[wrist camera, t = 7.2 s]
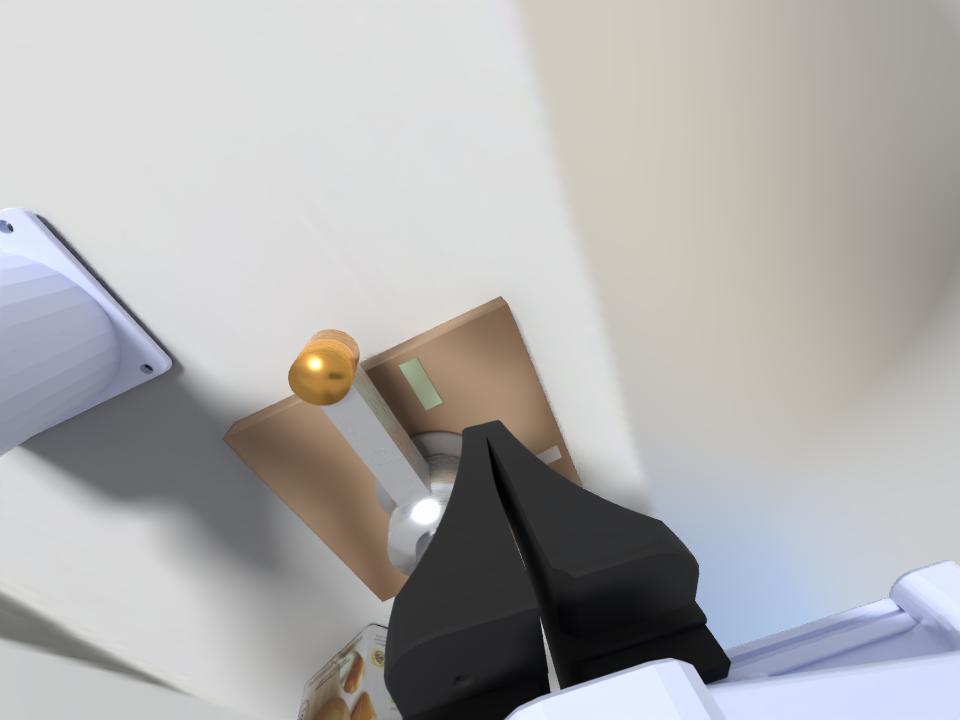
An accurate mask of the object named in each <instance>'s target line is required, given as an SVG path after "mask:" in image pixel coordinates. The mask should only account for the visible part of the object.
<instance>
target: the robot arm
mask: <svg viewBox="0 0 960 720" xmlns="http://www.w3.org/2000/svg"><path fill="white" fill-rule="evenodd" d="M6 222H9V223H10V224H11V225H12V227H13V232H12V231H11V230H9V229H8V227H7V226H6ZM145 364H147V365H149V366H151V367H152V369H153V371H152V370H149V369H147V368H146V366H145ZM171 366H172V361H171V359H170V358H169V357H168V355H167V354H166V353H165V352H164V351H163V350H162V349H161V348H160V347H159V346H158V345H157V344H156V343H155V342H154V341H153V340H152V339H151V337H150V336H149V335H148V334H147V333H146V332H145V331H144V330H143V329H142V328H141V327H140V326H139V325H138V324H137V323H136V322H135V320H134V319H133V318H132V317H131V316H130V315H129V314H128V313H127V312H126V311H125V310H124V309H123V308H122V307H121V306H120V305H119V304H118V302H117V301H116V300H115V299H114V298H113V297H112V296H111V295H110V294H109V293H108V292H107V291H106V290H105V289H104V288H103V287H102V286H101V284H100V283H99V282H98V281H97V280H96V279H95V278H94V277H93V276H92V275H91V274H90V273H89V272H88V271H87V270H86V269H85V267H84V266H83V265H82V264H81V263H80V262H79V261H78V260H77V259H76V258H75V257H74V256H73V255H72V254H71V253H70V252H69V251H68V249H67V248H66V247H65V246H64V245H63V244H62V243H61V242H60V241H59V240H58V239H57V238H56V237H55V236H54V235H53V234H52V233H51V231H50V230H49V229H48V228H47V227H46V226H45V225H44V224H43V223H42V222H41V221H40V220H39V219H38V218H37V217H36V216H35V215H34V214H33V213H32V212H31V211H29V210H26V209H24V208H18V207H15V208H6V209H4V210H2V211H0V456H2V455H4V454H5V453H7V452H8V451H10V450H11V449H13V448H15V447H16V446H18V445H19V444H21V443H22V442H24V441H26V440H27V439H29V438H30V437H32V436H34V435H36V434H38V433H40V432H42V431H44V430H46V429H48V428H50V427H52V426H55V425H57V424H59V423H61V422H63V421H65V420H67V419H69V418H71V417H73V416H75V415H77V414H80V413H82V412H84V411H86V410H88V409H90V408H92V407H94V406H96V405H98V404H100V403H102V402H104V401H107V400H109V399H111V398H113V397H115V396H117V395H119V394H121V393H123V392H125V391H127V390H129V389H132V388H134V387H136V386H138V385H140V384H142V383H144V382H146V381H148V380H150V379H152V378H154V377H156V376H159V375H161V374H163V373H165V372H166V371H167V370H169V369H170V368H171ZM507 520H508V521H507ZM508 523H509V524H508ZM509 525H510V526H509ZM510 528H511V529H510ZM511 530H512V532H511ZM512 533H513V535H514V537H513V535H512ZM514 538H515V540H516V543H517V545H518V548H519V550H520V553H521V556H522V558H521V556H520V553H519V551H518V548H517V545H516V543H515V540H514ZM522 559H523V561H524V564H525V566H524V564H523V561H522ZM525 568H526V569H525ZM698 577H699V565H698V563H697V561H696V559H695V557H694V556H693V555H692V553H691V552H690V551H689V550H688V548H687V547H686V546H685V545H684V543H683V542H682V541H681V540H680V539H679V538H678V537H677V536H676V535H675V534H674V533H673V532H672V531H671V530H670V529H669V528H668V527H667V526H666V525H665V524H664V523H663V522H662V521H660V520H657V519H654V518H651V517H649V516H646V515H643V514H640V513H637V512H634V511H631V510H629V509H626V508H624V507H621V506H619V505H617V504H614V503H612V502H609V501H607V500H605V499H603V498H601V497H599V496H597V495H595V494H593V493H591V492H589V491H587V490H585V489H583V488H582V487H580V486H578V485H577V484H575V483H573V482H571V481H570V480H568V479H567V478H565V477H564V476H562V475H561V474H559V473H558V472H556V471H555V470H553V469H552V468H551V467H549V466H548V465H547V464H545V463H544V462H543V461H542V460H540V459H539V458H538V457H537V456H535V455H534V454H533V453H532V452H531V451H530V450H529V449H527V448H526V447H525V446H524V445H523V444H522V443H521V442H520V441H519V440H518V439H517V438H516V437H515V436H514V435H513V434H512V433H511V432H510V431H509V430H508V429H507V428H506V426H505V425H504V424H503V423H502V422H501V421H500V420H495V421H491V422H487V423H483V424H479V425H475V426H471V427H467V428H464V429H463V431H462V450H461V456H460V462H459V467H458V471H457V475H456V479H455V482H454V486H453V489H452V492H451V495H450V498H449V501H448V504H447V506H446V509H445V512H444V514H443V516H442V519H441V521H440V523H439V525H438V527H437V530H436V532H435V534H434V536H433V538H432V540H431V542H430V543H429V545H428V547H427V549H426V550H425V552H424V554H423V556H422V557H421V559H420V561H419V563H418V564H417V566H416V568H415V569H414V571H413V572H412V574H411V575H410V577H409V578H408V580H407V581H406V583H405V584H404V586H403V587H402V588H401V590H400V591H399V593H398V594H397V596H396V597H395V600H394V604H393V608H392V612H391V616H390V621H389V625H388V631H387V638H386V644H385V659H384V682H385V686H386V689H387V691H388V692H389V694H390V696H391V698H392V700H393V701H394V703H395V705H396V707H397V709H398V711H399V712H400V714H401V716H402V720H960V566H958V565H957V564H956V563H954V562H953V561H950V560H943V561H940V562H937V563H934V564H931V565H928V566H924V567H921V568H918V569H915V570H912V571H909V572H907V573H905V574H903V575H902V576H901V577H899V578H898V579H897V580H896V581H895V583H894V584H893V586H892V588H891V590H890V593H889V594H890V597H888V598H884V599H881V600H878V601H875V602H872V603H869V604H866V605H863V606H860V607H857V608H854V609H851V610H847V611H844V612H841V613H838V614H835V615H832V616H829V617H826V618H823V619H820V620H817V621H814V622H811V623H807V624H805V625H801V626H798V627H795V628H792V629H789V630H786V631H783V632H780V633H777V634H774V635H770V636H767V637H764V638H761V639H758V640H755V641H752V642H749V643H746V644H743V645H740V646H737V647H733V648H731V649H727V650H724V651H723V649H722V648H721V646H720V645H719V644H718V642H717V641H716V639H715V638H714V636H713V635H712V633H711V632H710V630H709V629H708V628H707V626H706V625H705V624H706V623H707V618H706V616H705V614H704V613H703V611H702V610H701V608H700V607H699V606H698V604H697V603H696V601H695V597H696V590H697V584H698ZM540 619H541V622H542V625H543V629H544V632H545V636H546V639H547V643H548V646H549V650H550V653H551V657H552V660H553V664H554V667H555V671H556V674H557V678H558V682H559V685H560V689H561V690H559V691H556V692H553V693H551V692H550V686H549V680H548V667H547V661H546V654H545V648H544V641H543V635H542V628H541V622H540Z"/></svg>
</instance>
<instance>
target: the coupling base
mask: <svg viewBox="0 0 960 720" xmlns="http://www.w3.org/2000/svg"><path fill="white" fill-rule="evenodd" d="M359 364H360V365H361V367H362V368H363V370H364V371H365V373H366V374H367V376H368V377H369V378H370V380H371V381H372V383H373V384H374V386H375V387H376V389H377V390H378V392H379V393H380V395H381V396H382V398H383V399H384V401H385V402H386V403H387V405H388V406H389V408H390V409H391V411H392V412H393V414H394V415H395V417H396V418H397V420H398V421H399V423H400V424H401V426H402V427H403V428H404V430H405V431H406V433H407V434H408V436H409V437H410V439H411V440H412V442H413V443H414V445H415V446H416V448H417V449H418V451H419V452H420V453H421V455H422V456H424V455H429V454H437V453H442V454H450V455H454V456H457V457H460V456H461V450H462V431H463V429H464V428H467V427H471V426H475V425H479V424H483V423H487V422H491V421H495V420H500V421H501V422H502V423H503V424H504V425H505V426H506V428H507V429H508V430H509V431H510V432H511V433H512V434H513V435H514V436H515V437H516V438H517V439H518V440H519V441H520V442H521V443H522V444H523V445H524V446H525V447H526V448H527V449H529V450H530V451H531V452H532V453H533V454H534V455H535V456H537V457H538V458H539V459H540V460H542V461H543V462H544V463H545V464H547V465H548V466H549V467H551V468H552V469H553V470H555V471H556V472H558V473H559V474H561V475H562V476H564V477H565V478H567V479H568V480H570V481H571V482H573V483H575V484H577V485H578V486H580V487H582V484H581V482H580V479H579V477H578V475H577V472H576V470H575V467H574V465H573V462H572V460H571V457H570V455H569V453H568V450H567V448H566V445H565V443H564V440H563V438H562V435H561V433H560V431H559V428H558V426H557V423H556V421H555V418H554V416H553V413H552V411H551V408H550V406H549V404H548V401H547V399H546V396H545V394H544V391H543V389H542V386H541V384H540V382H539V379H538V377H537V374H536V372H535V369H534V367H533V364H532V362H531V360H530V357H529V355H528V352H527V350H526V347H525V345H524V342H523V340H522V338H521V335H520V333H519V330H518V328H517V325H516V323H515V320H514V318H513V316H512V313H511V311H510V308H509V306H508V303H507V302H506V301H505V300H504V299H503V298H502V297H501V296H500V297H498V298H496V299H494V300H492V301H490V302H488V303H486V304H483V305H481V306H479V307H477V308H475V309H473V310H471V311H469V312H467V313H465V314H462V315H460V316H458V317H456V318H454V319H452V320H450V321H448V322H446V323H444V324H441V325H439V326H437V327H435V328H433V329H431V330H429V331H427V332H425V333H423V334H420V335H418V336H416V337H414V338H412V339H410V340H408V341H406V342H404V343H402V344H399V345H397V346H395V347H393V348H391V349H389V350H387V351H385V352H383V353H380V354H378V355H376V356H374V357H372V358H370V359H368V360H366V361H364V362H362V363H359ZM223 440H224V441H225V442H226V443H227V444H228V445H229V446H230V447H231V448H232V449H233V450H234V451H235V452H236V453H237V454H238V455H239V456H240V457H241V458H242V459H243V460H244V461H245V462H246V463H247V464H248V465H249V466H250V468H251V469H252V470H253V471H254V472H255V473H256V474H257V475H258V476H259V477H260V478H261V479H262V480H263V481H264V482H265V483H266V484H267V485H268V486H269V487H270V488H271V489H272V490H273V491H274V492H275V493H276V494H277V495H278V496H279V497H280V498H281V499H282V500H283V501H284V502H285V503H286V504H287V505H288V506H289V507H290V508H291V509H292V510H293V511H294V512H295V513H296V514H297V515H298V516H299V517H300V518H301V519H302V520H303V521H304V522H305V523H306V524H307V525H308V526H309V527H310V529H311V530H312V531H313V532H314V533H315V534H316V535H317V536H318V537H319V538H320V539H321V540H322V541H323V542H324V543H325V544H326V545H327V546H328V547H329V548H330V549H331V550H332V551H333V552H334V553H335V554H336V555H337V556H338V557H339V558H340V559H341V560H342V561H343V562H344V563H345V564H346V565H347V566H348V567H349V568H350V569H351V570H352V571H353V572H354V573H355V574H356V575H357V576H358V577H359V578H360V579H361V580H362V581H363V582H364V583H365V584H366V585H367V586H368V587H369V588H370V590H371V591H372V592H373V593H374V594H375V595H376V596H377V597H378V598H379V599H380V600H381V601H382V602H384V601H386V600H388V599H390V598H392V597H395V596H397V594H398V593H399V591H400V590H401V588H402V587H403V586H404V584H405V583H406V581H407V580H408V578H409V576H407V575H405V574H403V573H401V572H400V571H398V570H397V569H396V568H395V567H394V566H393V564H392V563H391V561H390V559H389V556H388V550H387V548H388V532H389V517H390V501H391V496H390V495H389V493H388V492H387V491H386V490H385V488H384V487H383V486H382V485H381V483H380V482H379V481H378V479H377V478H376V477H375V476H374V474H373V473H372V472H371V471H370V469H369V468H368V467H367V466H366V464H365V463H364V462H363V461H362V459H361V458H360V457H359V455H358V454H357V453H356V452H355V450H354V449H353V448H352V447H351V445H350V444H349V443H348V442H347V440H346V439H345V438H344V436H343V435H342V434H341V433H340V431H339V430H338V429H337V428H336V426H335V425H334V424H333V423H332V421H331V420H330V419H329V417H328V416H327V415H326V414H325V412H324V411H323V410H322V409H321V407H320V406H318V405H313V404H310V403H307V402H305V401H303V400H302V399H300V398H299V397H298V396H297V395H296V394H294V395H292V396H290V397H288V398H286V399H284V400H282V401H280V402H278V403H275V404H273V405H271V406H269V407H267V408H265V409H263V410H261V411H259V412H256V413H254V414H252V415H250V416H248V417H246V418H244V419H242V420H240V421H238V422H235V424H234V425H233V426H232V427H231V429H230V430H229V431H228V433H227V434H226V435H225V437H224V438H223ZM582 488H583V487H582ZM507 521H508V520H507ZM508 524H509V523H508ZM509 526H510V525H509ZM510 529H511V528H510ZM511 532H512V530H511ZM512 535H513V533H512ZM513 537H514V535H513ZM514 540H515V538H514ZM515 541H516V540H515Z"/></svg>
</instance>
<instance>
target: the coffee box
mask: <svg viewBox="0 0 960 720" xmlns="http://www.w3.org/2000/svg"><path fill="white" fill-rule="evenodd" d="M387 631H388V629H386V628H383V627H380V626H377V625H374V624H373V625H370V626H368V627H367V628H366V629H365V630H364V631H362V632H361V633H360V634H359V635H358V636H357V637H356V638H355V639H354V640H353V641H352V642H351V643H349V644H348V645H347V646H346V647H345V648H344V649H343V650H342V651H341V652H340V653H339V654H338V655H336V656H335V657H334V658H333V659H332V660H331V661H330V662H329V663H328V664H327V665H326V666H324V667H323V668H322V669H321V670H320V671H319V672H318V673H317V674H316V675H315V676H314V677H313V678H312V679H310V680H309V681H308V682H307V683H306V685H305V688H304V692H303V697H302V701H301V706H300V711H299V715H298V719H297V720H402V716H401V714H400V712H399V711H398V709H397V707H396V705H395V703H394V701H393V700H392V698H391V696H390V694H389V692H388V691H387V689H386V686H385V682H384V659H385V644H386V638H387Z"/></svg>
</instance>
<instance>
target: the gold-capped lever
mask: <svg viewBox="0 0 960 720" xmlns="http://www.w3.org/2000/svg"><path fill="white" fill-rule="evenodd" d="M359 358H360V352H359V348H358V345H357V343H356V342H355V341H354V339H353V338H352V337H350V336H349V335H348V334H346V333H344V332H342V331H339V330H324V331H320V332H318V333H316V334H315V335H314V336H313V337H312V338H311V339H310V340H309V342H308V343H307V345H306V346H305V347H304V349H303V350H302V352H301V353H300V355H299V356H298V358H297V359H296V360H295V362H294V363H293V365H292V366H291V368H290V371H289V375H288V380H289V384H290V387H291V389H292V391H293V392H294V393H295V394H296V395H297V396H298V397H299V398H300V399H302V400H303V401H305V402H307V403H310V404H313V405H318V406H320V407H321V409H322V410H323V411H324V412H325V414H326V415H327V416H328V417H329V419H330V420H331V421H332V423H333V424H334V425H335V426H336V428H337V429H338V430H339V431H340V433H341V434H342V435H343V436H344V438H345V439H346V440H347V442H348V443H349V444H350V445H351V447H352V448H353V449H354V450H355V452H356V453H357V454H358V455H359V457H360V458H361V459H362V461H363V462H364V463H365V464H366V466H367V467H368V468H369V469H370V471H371V472H372V473H373V474H374V476H375V477H376V478H377V479H378V481H379V482H380V483H381V485H382V486H383V487H384V488H385V490H386V491H387V492H388V493H389V495H390V496H391V501H390V517H389V532H388V548H387V550H388V556H389V559H390V561H391V563H392V564H393V566H394V567H395V568H396V569H397V570H398V571H400V572H401V573H403V574H405V575H407V576H409V577H410V575H411V574H412V572H413V571H414V569H415V568H416V566H417V564H418V563H419V561H420V559H421V557H422V556H423V554H424V552H425V550H426V549H427V547H428V545H429V543H430V542H431V540H432V538H433V536H434V534H435V532H436V530H437V527H438V525H439V523H440V521H441V519H442V516H443V514H444V512H445V509H446V506H447V504H448V501H449V498H450V495H451V492H452V489H453V486H454V482H455V479H456V475H457V471H458V467H459V462H460V457H457V456H454V455H450V454H442V453H437V454H429V455H424V456H422V455H421V453H420V452H419V451H418V449H417V448H416V446H415V445H414V443H413V442H412V440H411V439H410V437H409V436H408V434H407V433H406V431H405V430H404V428H403V427H402V426H401V424H400V423H399V421H398V420H397V418H396V417H395V415H394V414H393V412H392V411H391V409H390V408H389V406H388V405H387V403H386V402H385V401H384V399H383V398H382V396H381V395H380V393H379V392H378V390H377V389H376V387H375V386H374V384H373V383H372V381H371V380H370V378H369V377H368V376H367V374H366V373H365V371H364V370H363V368H362V367H361V365H360V364H359Z"/></svg>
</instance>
